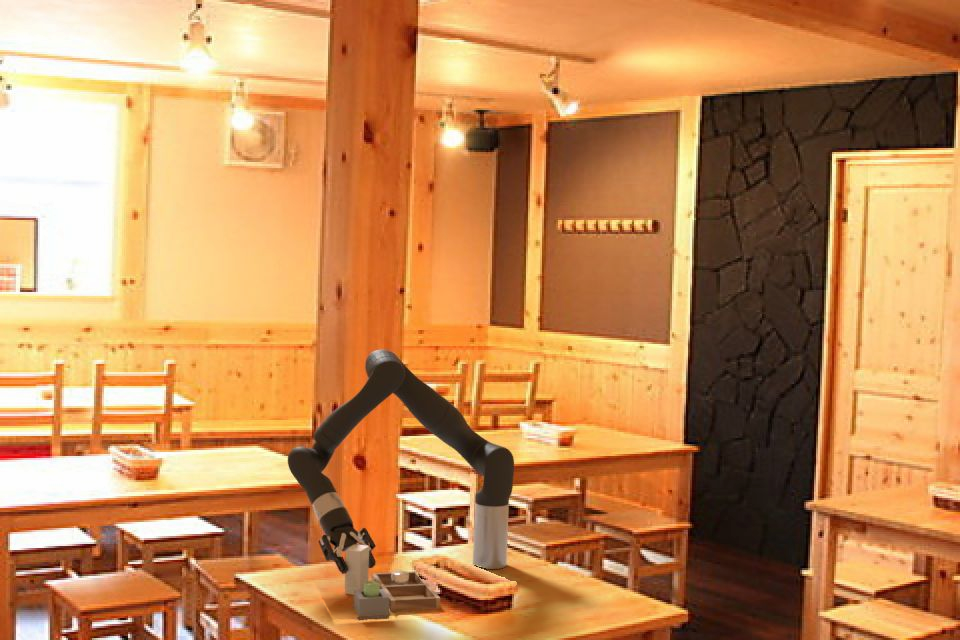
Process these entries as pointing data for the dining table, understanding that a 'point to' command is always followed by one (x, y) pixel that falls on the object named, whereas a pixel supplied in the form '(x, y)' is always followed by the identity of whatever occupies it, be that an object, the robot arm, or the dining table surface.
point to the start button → (371, 589)
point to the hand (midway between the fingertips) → (359, 569)
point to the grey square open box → (371, 605)
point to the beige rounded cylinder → (399, 578)
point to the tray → (408, 593)
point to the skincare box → (356, 568)
